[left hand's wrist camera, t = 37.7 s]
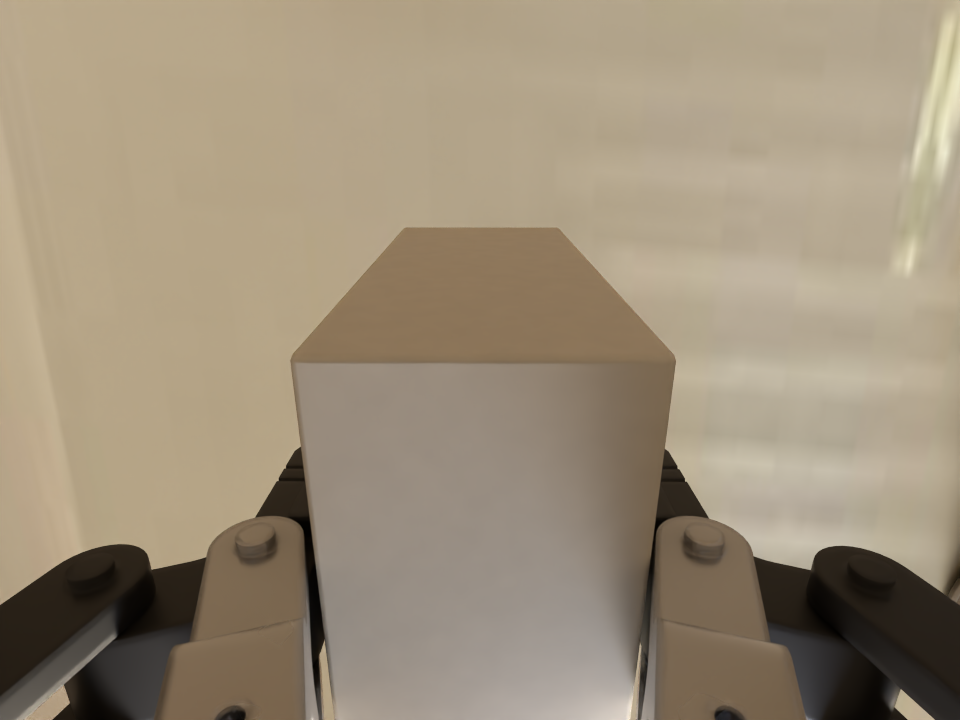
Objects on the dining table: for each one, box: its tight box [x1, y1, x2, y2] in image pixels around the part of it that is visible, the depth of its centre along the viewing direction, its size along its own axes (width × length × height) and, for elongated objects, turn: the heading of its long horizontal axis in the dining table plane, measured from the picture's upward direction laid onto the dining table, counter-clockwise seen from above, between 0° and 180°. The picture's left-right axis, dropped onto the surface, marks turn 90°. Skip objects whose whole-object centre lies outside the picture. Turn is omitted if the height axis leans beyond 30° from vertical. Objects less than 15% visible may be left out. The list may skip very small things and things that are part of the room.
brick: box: [291, 228, 676, 720], centre depth 13 cm, size 4×8×10 cm, turn 0°
